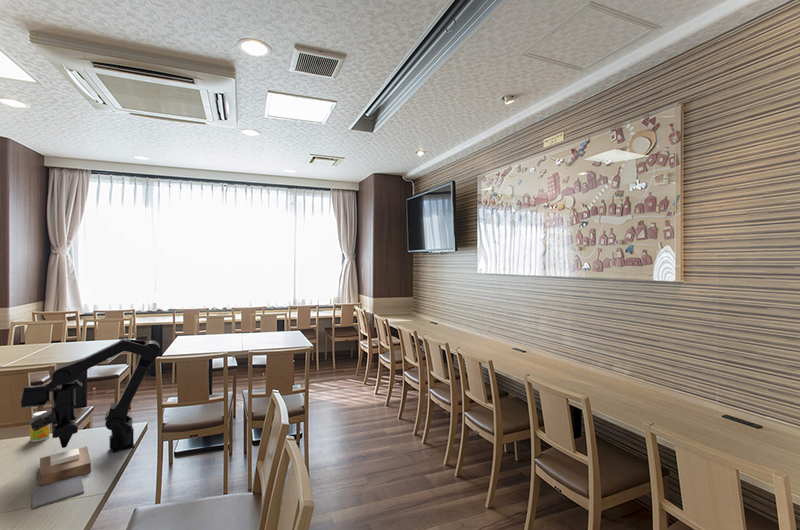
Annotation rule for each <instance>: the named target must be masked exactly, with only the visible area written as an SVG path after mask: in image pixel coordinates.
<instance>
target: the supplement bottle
mask: <svg viewBox="0 0 800 530" xmlns="http://www.w3.org/2000/svg"><path fill="white" fill-rule="evenodd" d="M45 412H48V411H46V410H44V411H43V410H42V411H36V412H35V413H33V415H32V418H34V417H36V416H38V415H41V414H43V413H45ZM50 427H51V423H50V424H49V425H47V426H44V427H42V428H40V429H39V430H37V431H34V430H33V429H32V428H31V425H30V424H29V428H30V433H29V436H30V437H29V441H30V442H31V443H32V442H34V443H35V442H41V441H44V440H47V439H48V438H49V437H50V435H51V429H50ZM49 434H50V435H49Z"/></svg>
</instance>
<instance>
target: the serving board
mask: <svg viewBox="0 0 800 530" xmlns="http://www.w3.org/2000/svg"><path fill="white" fill-rule="evenodd" d="M79 454H80V457H79V459H76V460H72V461H68V462H64V463H60V464H57V465H53V466H51V462H50V455H47V456H43V457H39V487H41V486H45V485H48V484H52V483H55V482H59V481H62V480H66V479H69V478H73V477H76V476H80V475H81V476H82V475H85V474H88V473H91V472H92V463H91V457H90V454H89V449H88V446H84V447H79Z"/></svg>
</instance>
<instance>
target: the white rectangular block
mask: <svg viewBox="0 0 800 530" xmlns="http://www.w3.org/2000/svg"><path fill="white" fill-rule="evenodd" d="M79 448H80V447H79ZM79 448H78V447H77V448H73V449H70V450H65V451H62V452H58V453H53V454H50V455H49V456H50V462H51V466H53V465H57V464H60V463H64V462H68V461H72V460H76V459H79V457H80V454H79Z"/></svg>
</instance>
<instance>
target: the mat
mask: <svg viewBox="0 0 800 530" xmlns="http://www.w3.org/2000/svg"><path fill="white" fill-rule="evenodd" d="M31 494H32V499H31V501H32V502H31V509H32V510H33V509H36V508H40V507H43V506H46V505H51V504H53V503H56V502H59V501H62V500H66V499H68V498H69V499H70V498H73V497H75V496H78V495H79V496H80V495H81V494H85V491H84V483H83V480H82V474H81V475H78V476H74V477H71V478H67V479H64V480H60V481H57V482H53V483H50V484H46V485H43V486H39V487H36V488H32V493H31Z"/></svg>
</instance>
